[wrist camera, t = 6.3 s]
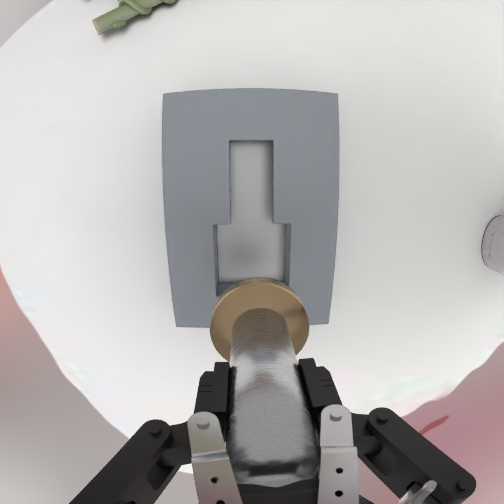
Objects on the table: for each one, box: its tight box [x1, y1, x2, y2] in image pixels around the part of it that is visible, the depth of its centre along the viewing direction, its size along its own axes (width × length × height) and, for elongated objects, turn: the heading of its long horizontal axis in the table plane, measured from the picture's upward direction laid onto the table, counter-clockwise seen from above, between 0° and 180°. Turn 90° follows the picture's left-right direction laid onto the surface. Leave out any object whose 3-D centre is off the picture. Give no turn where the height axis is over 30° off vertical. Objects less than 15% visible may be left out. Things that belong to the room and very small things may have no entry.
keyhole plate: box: [162, 88, 339, 328], centre depth 31 cm, size 18×26×4 cm
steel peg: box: [210, 278, 319, 487], centre depth 13 cm, size 6×6×12 cm
